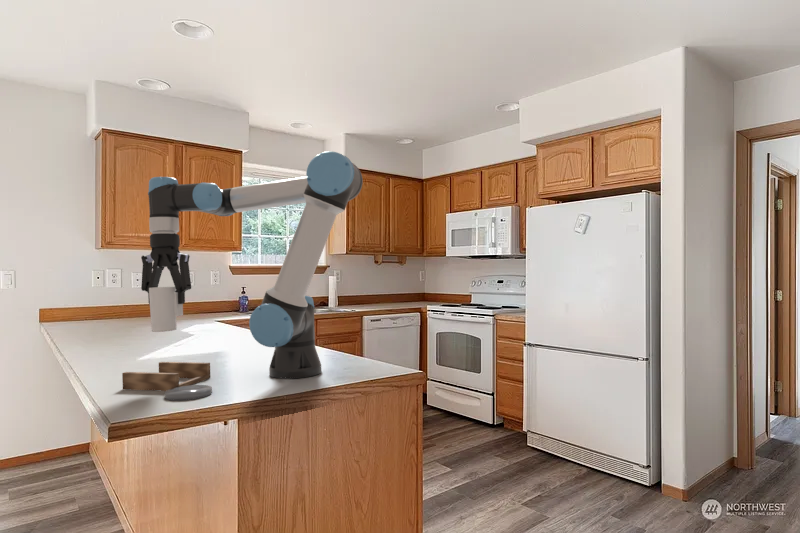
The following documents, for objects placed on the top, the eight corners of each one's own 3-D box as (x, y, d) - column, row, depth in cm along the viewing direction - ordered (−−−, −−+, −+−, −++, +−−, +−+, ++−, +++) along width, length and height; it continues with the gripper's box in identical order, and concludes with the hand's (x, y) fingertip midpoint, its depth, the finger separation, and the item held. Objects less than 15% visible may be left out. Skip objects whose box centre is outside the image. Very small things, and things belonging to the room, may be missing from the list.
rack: (210, 377, 148) (210, 362, 148) (175, 391, 133) (175, 374, 133) (162, 376, 152) (161, 361, 152) (122, 389, 136) (122, 373, 136)
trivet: (220, 390, 133) (220, 385, 133) (195, 401, 122) (194, 396, 122) (183, 388, 135) (183, 384, 135) (154, 399, 124) (154, 395, 124)
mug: (172, 331, 137) (170, 287, 138) (146, 332, 137) (144, 288, 137) (185, 327, 148) (183, 285, 148) (161, 328, 147) (159, 286, 147)
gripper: (204, 232, 144) (206, 314, 144) (143, 235, 148) (145, 314, 148) (187, 231, 136) (190, 317, 136) (124, 234, 141) (126, 317, 141)
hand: (167, 315), depth 142 cm, fingers closed on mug, 7 cm apart
